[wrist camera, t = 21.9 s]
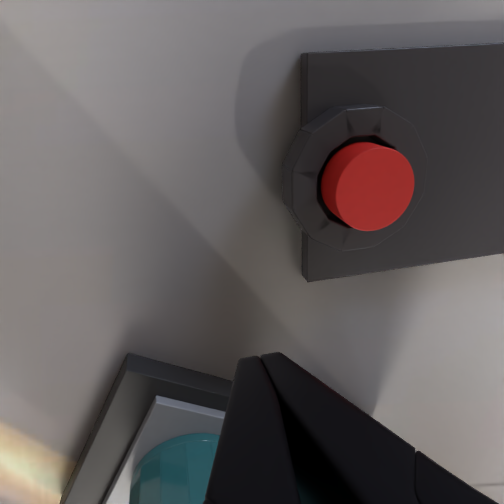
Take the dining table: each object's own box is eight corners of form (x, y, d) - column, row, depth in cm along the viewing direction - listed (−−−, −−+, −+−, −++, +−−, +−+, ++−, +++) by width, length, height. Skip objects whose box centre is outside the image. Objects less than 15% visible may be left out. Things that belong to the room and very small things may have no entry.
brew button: (319, 223, 20) (334, 236, 18) (320, 145, 18) (336, 151, 16) (390, 214, 20) (410, 226, 19) (396, 138, 19) (419, 143, 17)
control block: (279, 278, 23) (293, 300, 20) (273, 54, 18) (289, 51, 16) (578, 235, 26) (618, 250, 24) (633, 37, 22) (689, 32, 19)
